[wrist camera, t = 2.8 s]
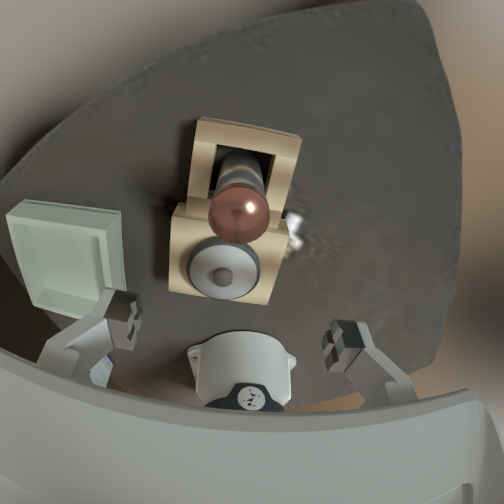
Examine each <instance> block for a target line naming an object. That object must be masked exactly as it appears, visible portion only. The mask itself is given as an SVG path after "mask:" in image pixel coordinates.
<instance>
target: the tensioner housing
mask: <svg viewBox="0 0 504 504" xmlns="http://www.w3.org/2000/svg"><path fill="white" fill-rule="evenodd" d="M301 143H302V139H301V138H300V137H299V136H298V135H296V134H292V133H287V132H283V131H279V130H274V129H269V128H265V127H260V126H255V125H249V124H244V123H238V122H232V121H226V120H220V119H213V118H206V117H201V118H200V119H198V121H197V127H196V133H195V140H194V147H193V154H192V161H191V168H190V176H189V184H188V193H187V202H186V203H183V202H179V203H178V205H177V207H176V209H175V211H174V213H173V215H172V221H171V237H170V258H169V291H172V292H178V293H184V294H191V295H197V296H204V297H210V298H213V299H218V300H231V301H239V302H246V303H254V304H262V305H267V304H268V301H269V298H270V295H271V292H272V289H273V286H274V283H275V280H276V277H277V274H278V271H279V268H280V265H281V262H282V259H283V255H284V252H285V249H286V246H287V243H288V240H289V237H290V234H289V230H288V227H287V223H286V220H285V219H280V218H281V215H282V211H283V208H284V204H285V201H286V197H287V193H288V190H289V186H290V183H291V179H292V175H293V172H294V168H295V165H296V161H297V157H298V154H299V150H300V146H301ZM217 144H219V145H226V146H232V147H237V148H243V149H249V150H254V151H259V152H264V153H269V154H272V157H271V161H270V165H269V170H268V174H267V178H266V182H265V186H264V190H265V196H266V199H267V201H268V205H269V210H270V223H269V226H268V228H267V230H266V231H265V233H264V234H263V235H262V236H261V237H259V238H258V239H257V240H255V241H253V242H250V243H246V244H233V243H229V242H226V241H224V240H222V239H220V238H219V237H218V236H217V235H216V234H215V233H214V232H213V231H212V229H211V227H210V225H209V221H208V212H209V207H210V203H211V200H212V198H213V196H214V193H215V190H210V185H211V179H212V172H213V166H214V160H215V154H216V149H217Z"/></svg>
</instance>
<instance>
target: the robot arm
mask: <svg viewBox="0 0 504 504" xmlns="http://www.w3.org/2000/svg"><path fill="white" fill-rule="evenodd" d="M140 303H141V296H140V294H136V293H131V292H127V291H122V290H118V289H113V288H109V287H106V288H105V289H104V290H103V292H102V294H101V296H100V298H99V300H98V302H97V304H96V306H95V308H94V310H93V312H92V314H91V315H89V314H88V315H86V316H84V317H83V318H81V319H80V320H78V321H76V322H75V323H73V324H72V325H70V326H69V327H67V328H66V329H64V330H62V331H61V332H60V333H58V334H56V335H55V336H53V337H52V338H50V339H49V340H47V342H46V344H45V346H44V348H43V350H42V353H41V355H40V357H39V359H38V361H37V363H36V364H35V363H33V362H30V361H28V360H26V359H23V358H21V357H19V356H17V355H15V354H12V353H10V352H8V351H6V350H4V349H2V348H0V504H504V436H503V433H502V431H501V428H500V426H499V423H498V421H497V419H496V417H495V414H494V412H493V411H492V409H491V407H490V406H489V404H488V403H487V402H486V401H485V400H483V399H482V398H481V397H480V396H479V395H478V394H476V393H475V392H473V391H472V390H471V389H469V388H464V389H461V390H457V391H454V392H450V393H446V394H442V395H438V396H433V397H429V398H424V399H419V400H418V398H417V395H416V393H415V390H414V387H413V384H412V382H411V379H410V378H409V377H408V376H407V375H406V374H405V373H404V372H403V371H402V370H401V369H399V368H398V367H397V366H396V365H395V364H394V363H393V362H392V361H391V360H390V359H389V358H388V357H387V356H385V355H384V354H383V353H382V352H381V351H380V350H379V349H375V346H374V343H373V341H372V338H371V335H370V333H369V330H368V328H367V325H366V323H365V322H364V321H352V320H335V319H334V320H333V321H332V322H331V324H330V328H331V329H329V330H328V331H326V332H325V334H324V336H323V340H322V349H323V352H324V353H325V354H326V355H327V357H326V359H325V362H326V367H327V371H328V372H344V374H345V375H346V376H347V377H348V379H349V380H350V381H351V383H352V384H353V385H354V386H355V388H356V389H357V390H358V391H359V393H360V394H361V395H362V396H363V397H364V399H365V400H366V402H365V403H364V404H363V405H361V407H359V409H350V410H337V411H321V412H320V411H319V412H284V408H283V406H284V405H285V404H286V403H287V402H288V400H290V398H291V385H290V370H291V369H292V368H293V367H294V366H295V365H296V358H295V357H294V356H292V355H291V354H289V353H287V352H286V350H285V349H284V347H283V345H282V344H281V343H280V342H279V341H277V340H276V339H274V338H273V337H270V336H268V335H265V334H262V333H257V332H250V331H235V332H228V333H224V334H220V335H217V336H215V337H213V338H211V339H210V340H208V341H207V342H205V343H203V344H199V345H195V346H191V347H189V348H188V352H187V354H188V358H189V361H190V365H191V368H192V371H193V375H194V378H195V381H196V393H197V394H198V396H199V399H200V400H201V402H202V404H203V406H204V407H201V406H193V405H186V404H180V403H173V402H167V401H162V400H157V399H151V398H147V397H142V396H137V395H133V394H129V393H124V392H120V391H116V390H113V389H109V388H105V387H102V386H98V385H95V384H93V382H92V380H91V378H90V376H89V374H88V371H89V370H90V369H92V368H93V367H94V366H95V365H96V364H97V363H98V362H99V361H100V360H101V359H102V358H104V357H105V356H106V355H107V354H108V353H109V352H110V351H111V350H112V349H114V347H116V348H121V349H126V350H131V351H133V349H134V345H135V342H136V339H137V337H136V332H137V331H138V330H139V329H140V326H141V321H142V308H141V307H140V306H139V305H140Z"/></svg>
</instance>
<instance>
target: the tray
mask: <svg viewBox="0 0 504 504" xmlns="http://www.w3.org/2000/svg"><path fill="white" fill-rule="evenodd" d="M6 219H7V223H8V228H9V232H10V236H11V240H12V244H13V247H14V251H15V254H16V258H17V261H18V264H19V267H20V270H21V273H22V276H23V279H24V282H25V285H26V288H27V290H28V293H29V296H30V298H31V301H32V303H33V305H34V306H36V307H39V308H43V309H46V310H49V311H52V312H55V313H59V314H62V315H66V316H69V317H73V318H76V319H81V318H83V317H84V316H86V315H88V314H89V315H91V314H92V312H93V310H94V308H95V306H96V304H97V302H98V300H99V298H100V296H101V294H102V292H103V290H104V289H105V288H106V287H109V288H113V289H118V290H122V291H127V290H126V281H125V271H124V260H123V246H122V228H121V211H115V210H108V209H100V208H93V207H85V206H77V205H69V204H61V203H53V202H45V201H36V200H27V199H24V200H23V201H22V202H20V203H19V204H18V205H17V206H15V207H14V208H13V209H12V210H11V211H9V212H8V213H7V214H6Z"/></svg>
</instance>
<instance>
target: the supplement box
mask: <svg viewBox="0 0 504 504" xmlns="http://www.w3.org/2000/svg"><path fill="white" fill-rule="evenodd" d="M113 364H114V362H113V360H112V359H111V358H110V356H109V355H108V354H107V355H106V356H105V357H104V358H102V359H101V360H100V361H99V362H98V363H97V364H96V365H95V366H94V367H93V368H92V369H90V370H89V371H88V374H89V376H90V378H91V380H92V382H93V384H95V385H98V386H102V387H105V388H106V385H107V382H108V379H109V376H110V373H111V370H112V367H113Z"/></svg>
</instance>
